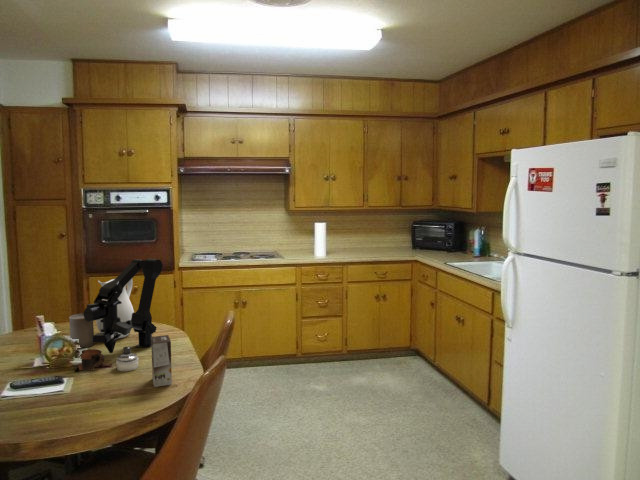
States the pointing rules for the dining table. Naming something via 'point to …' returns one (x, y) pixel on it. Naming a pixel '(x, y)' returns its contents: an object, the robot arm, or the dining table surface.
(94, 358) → the pottery mug
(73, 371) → the dining table surface
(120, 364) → the press
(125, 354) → the plunger
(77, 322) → the pillar candle
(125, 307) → the pitcher
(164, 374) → the coffee box
